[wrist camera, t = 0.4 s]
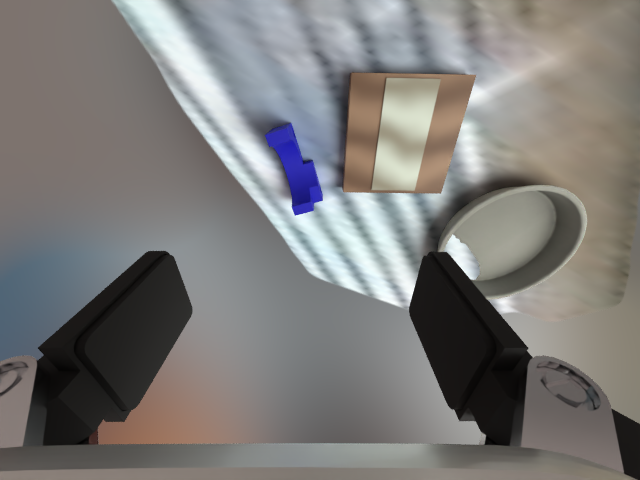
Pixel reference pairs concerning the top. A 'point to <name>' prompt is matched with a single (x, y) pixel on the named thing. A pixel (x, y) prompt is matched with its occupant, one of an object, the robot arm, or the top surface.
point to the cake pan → (518, 236)
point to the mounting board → (402, 130)
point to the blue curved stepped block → (296, 169)
